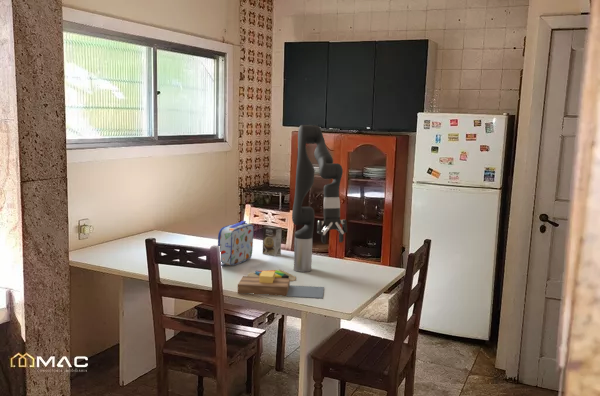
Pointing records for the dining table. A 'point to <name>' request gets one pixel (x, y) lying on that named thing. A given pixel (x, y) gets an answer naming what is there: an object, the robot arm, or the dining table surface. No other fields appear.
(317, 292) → the slate mat
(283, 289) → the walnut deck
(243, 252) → the lunch box
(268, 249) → the coffee box
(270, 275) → the ochre tile
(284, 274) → the wooden puzzle
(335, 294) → the dining table surface
